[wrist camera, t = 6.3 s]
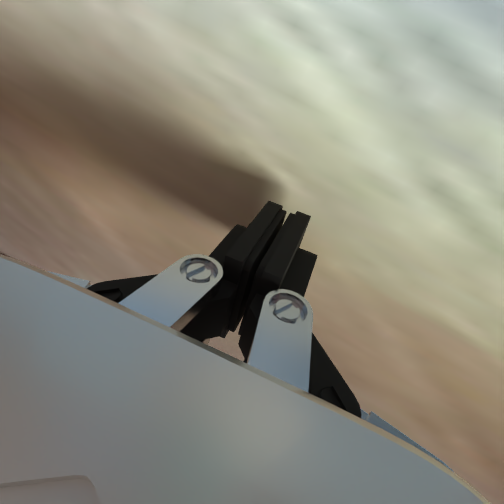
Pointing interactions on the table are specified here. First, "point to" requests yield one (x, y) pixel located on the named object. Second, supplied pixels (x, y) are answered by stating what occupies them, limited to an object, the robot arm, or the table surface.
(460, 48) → the table surface
